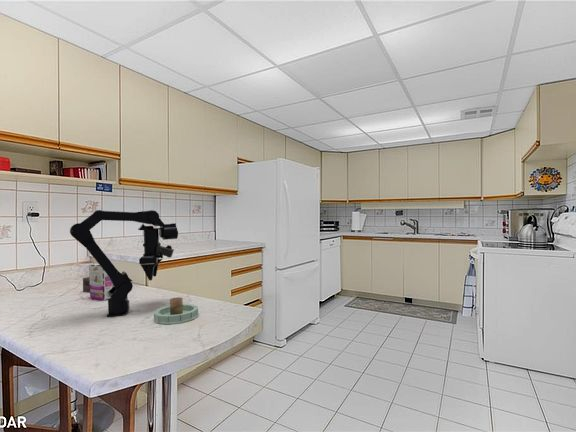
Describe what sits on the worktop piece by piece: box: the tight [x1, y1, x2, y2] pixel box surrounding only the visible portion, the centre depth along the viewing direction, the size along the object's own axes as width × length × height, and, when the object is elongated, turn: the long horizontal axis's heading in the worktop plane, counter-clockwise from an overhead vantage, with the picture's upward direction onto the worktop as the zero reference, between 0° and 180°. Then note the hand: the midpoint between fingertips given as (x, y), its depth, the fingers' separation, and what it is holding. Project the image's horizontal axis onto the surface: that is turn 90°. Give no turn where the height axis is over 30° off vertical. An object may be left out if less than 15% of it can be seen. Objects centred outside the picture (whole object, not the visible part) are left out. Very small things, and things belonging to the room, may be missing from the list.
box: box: [82, 276, 90, 293], centre depth 168 cm, size 6×6×7 cm
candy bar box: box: [88, 262, 113, 302], centre depth 150 cm, size 11×5×16 cm, turn 62°
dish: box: [153, 303, 199, 325], centre depth 117 cm, size 15×15×3 cm
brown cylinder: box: [169, 296, 184, 315], centre depth 117 cm, size 4×4×6 cm
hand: (152, 278), depth 132 cm, fingers open, 9 cm apart
